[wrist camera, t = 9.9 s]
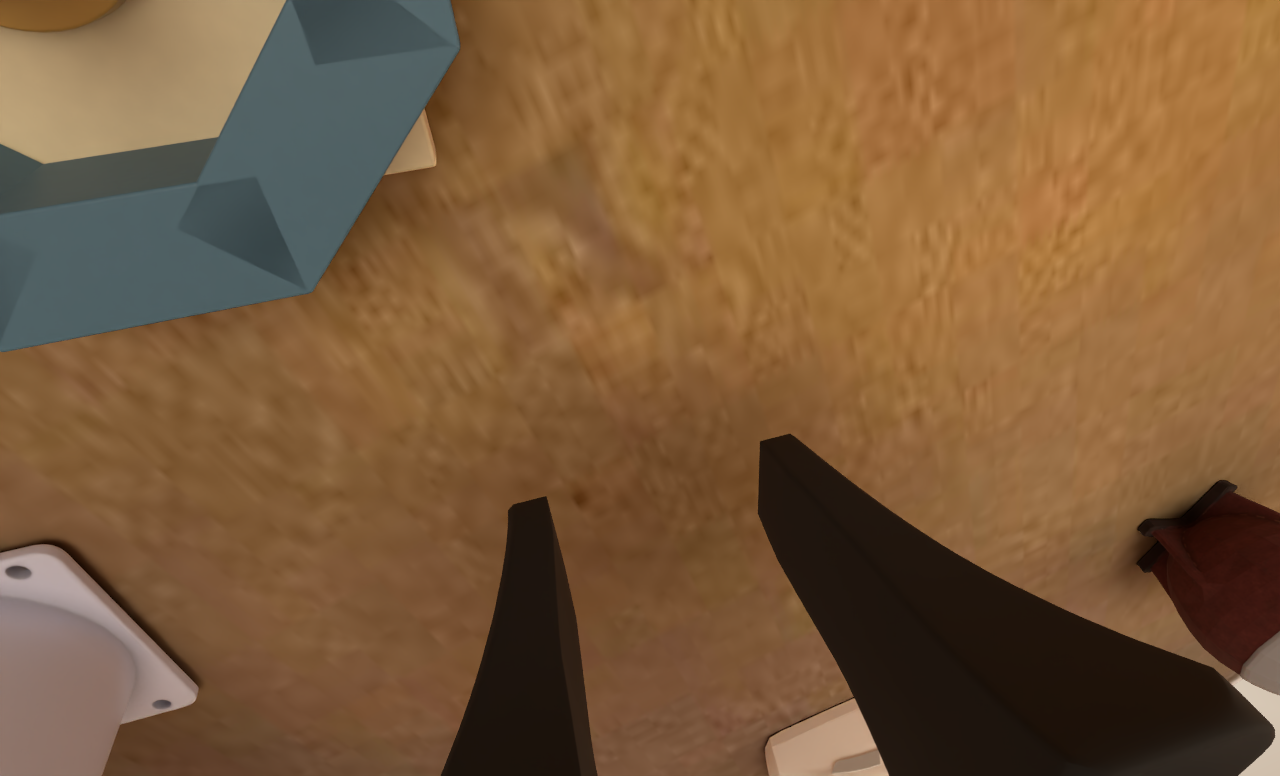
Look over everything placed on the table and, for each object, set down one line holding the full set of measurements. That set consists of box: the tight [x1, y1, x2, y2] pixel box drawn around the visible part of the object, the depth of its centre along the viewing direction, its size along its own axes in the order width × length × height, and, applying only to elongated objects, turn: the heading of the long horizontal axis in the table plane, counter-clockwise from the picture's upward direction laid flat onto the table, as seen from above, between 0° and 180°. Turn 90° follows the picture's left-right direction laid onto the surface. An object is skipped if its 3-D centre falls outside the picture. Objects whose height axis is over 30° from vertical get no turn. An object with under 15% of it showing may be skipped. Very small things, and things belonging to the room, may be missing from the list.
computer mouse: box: [765, 698, 889, 776], centre depth 36 cm, size 6×13×6 cm, turn 108°
